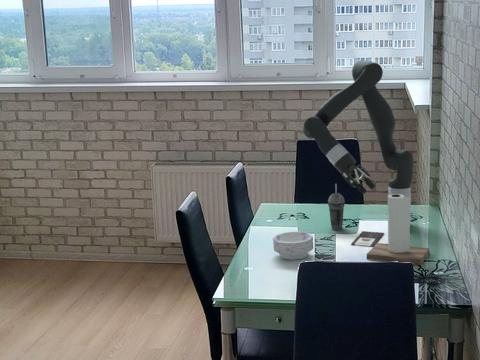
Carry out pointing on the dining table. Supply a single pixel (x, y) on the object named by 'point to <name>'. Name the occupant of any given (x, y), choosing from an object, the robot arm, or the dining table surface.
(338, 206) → the beverage cup
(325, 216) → the dining table surface
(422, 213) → the dining table surface
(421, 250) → the walnut board
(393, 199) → the paper towel roll
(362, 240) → the chocolate bar
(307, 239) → the grey marble bowl
